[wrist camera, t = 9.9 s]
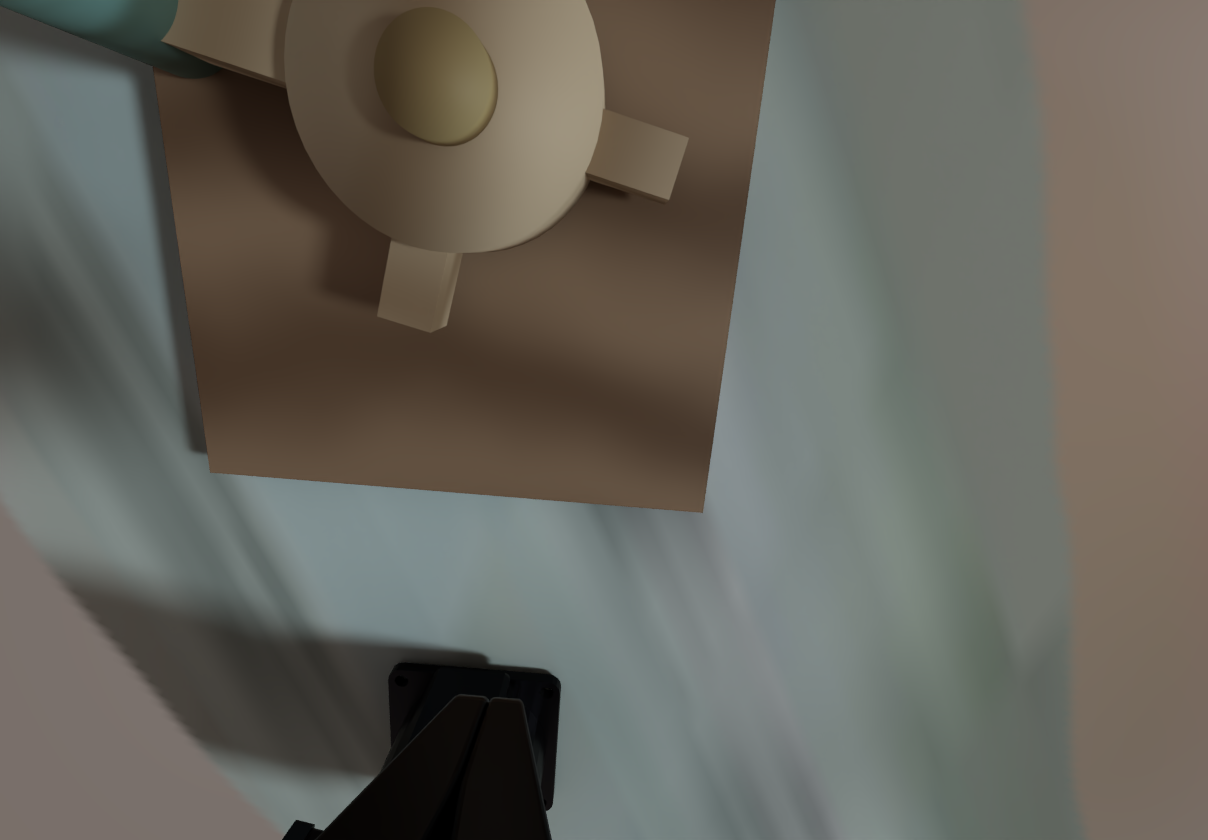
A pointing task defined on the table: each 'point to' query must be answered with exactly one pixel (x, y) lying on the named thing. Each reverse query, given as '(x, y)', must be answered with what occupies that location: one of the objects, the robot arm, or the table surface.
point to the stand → (476, 294)
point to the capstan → (415, 113)
